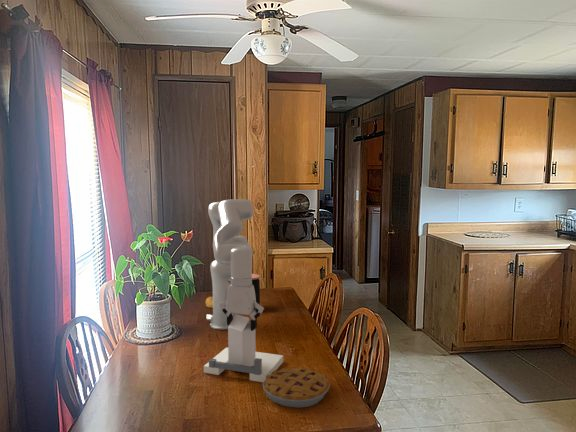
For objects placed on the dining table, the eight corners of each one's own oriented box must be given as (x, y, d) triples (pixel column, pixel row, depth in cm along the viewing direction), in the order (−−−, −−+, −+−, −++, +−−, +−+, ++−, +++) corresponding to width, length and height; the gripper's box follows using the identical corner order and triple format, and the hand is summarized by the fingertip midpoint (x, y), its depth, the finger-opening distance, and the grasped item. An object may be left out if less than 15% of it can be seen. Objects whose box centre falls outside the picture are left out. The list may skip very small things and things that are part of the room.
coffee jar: (236, 311, 232) (235, 277, 230) (244, 305, 242) (243, 273, 241) (255, 313, 229) (255, 279, 227) (262, 307, 239) (262, 274, 237)
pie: (314, 417, 134) (315, 401, 133) (250, 401, 143) (250, 386, 142) (338, 385, 153) (338, 371, 153) (280, 373, 163) (280, 359, 162)
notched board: (203, 372, 163) (203, 365, 162) (226, 353, 179) (226, 347, 179) (265, 382, 155) (265, 375, 155) (283, 361, 172) (283, 355, 172)
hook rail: (208, 367, 161) (208, 353, 161) (211, 364, 163) (211, 351, 163) (259, 375, 155) (259, 361, 155) (261, 372, 157) (261, 358, 156)
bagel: (208, 310, 235) (208, 301, 235) (203, 304, 245) (203, 296, 245) (226, 308, 239) (226, 299, 239) (221, 302, 249) (221, 294, 249)
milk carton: (242, 372, 161) (242, 320, 158) (228, 366, 165) (227, 316, 163) (255, 365, 166) (255, 315, 164) (241, 360, 170) (241, 311, 168)
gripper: (214, 281, 161) (215, 328, 163) (259, 286, 156) (260, 334, 158) (224, 277, 168) (225, 322, 170) (267, 281, 163) (267, 327, 165)
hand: (241, 327), depth 164 cm, fingers closed on milk carton, 8 cm apart
